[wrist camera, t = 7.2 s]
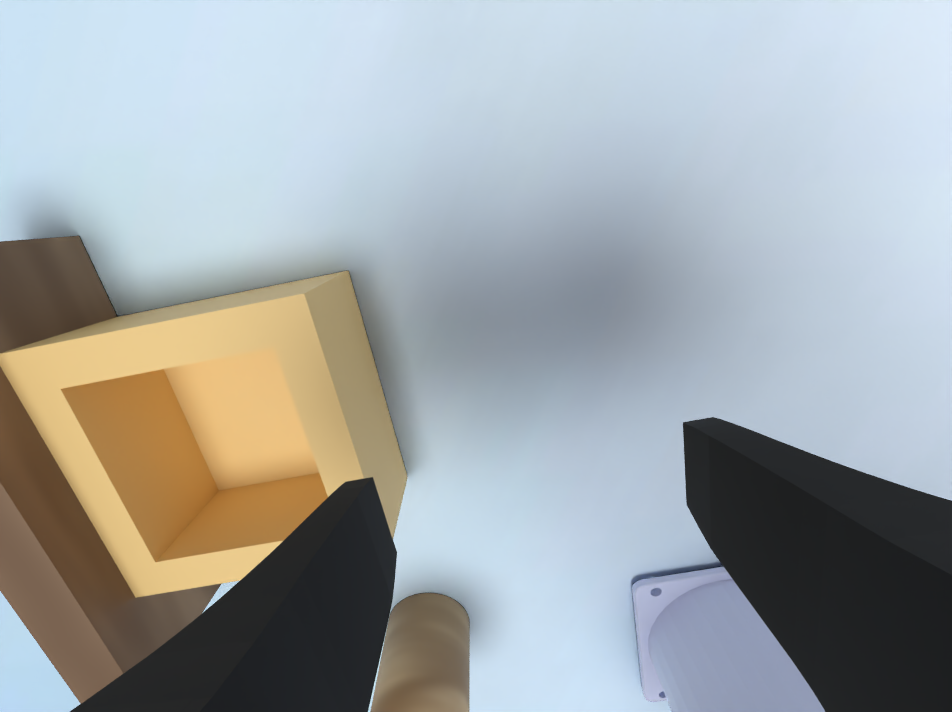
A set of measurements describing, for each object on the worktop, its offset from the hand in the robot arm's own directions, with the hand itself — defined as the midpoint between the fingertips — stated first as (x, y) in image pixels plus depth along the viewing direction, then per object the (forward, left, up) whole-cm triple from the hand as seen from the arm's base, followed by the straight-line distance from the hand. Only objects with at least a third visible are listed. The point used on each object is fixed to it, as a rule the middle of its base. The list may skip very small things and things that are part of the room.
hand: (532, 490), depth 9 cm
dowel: (+6, +13, -8) cm, 17 cm away
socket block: (+10, 0, -8) cm, 13 cm away
